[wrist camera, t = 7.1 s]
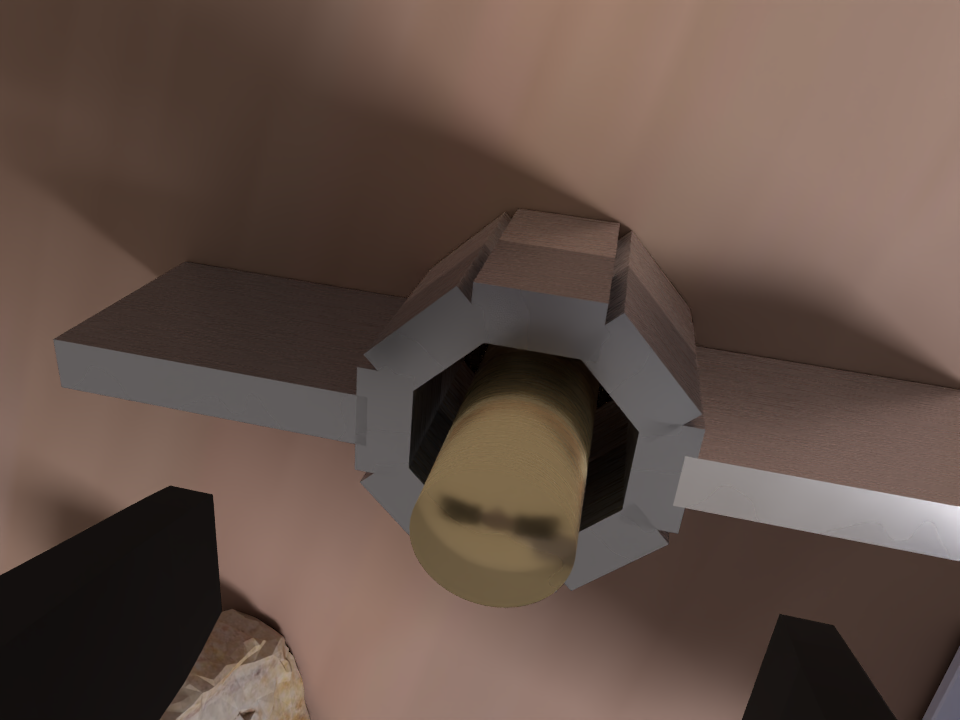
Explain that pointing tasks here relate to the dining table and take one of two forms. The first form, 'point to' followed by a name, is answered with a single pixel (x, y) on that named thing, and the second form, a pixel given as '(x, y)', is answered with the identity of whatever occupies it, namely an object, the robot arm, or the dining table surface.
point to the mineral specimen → (241, 676)
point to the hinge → (558, 331)
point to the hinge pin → (509, 480)
